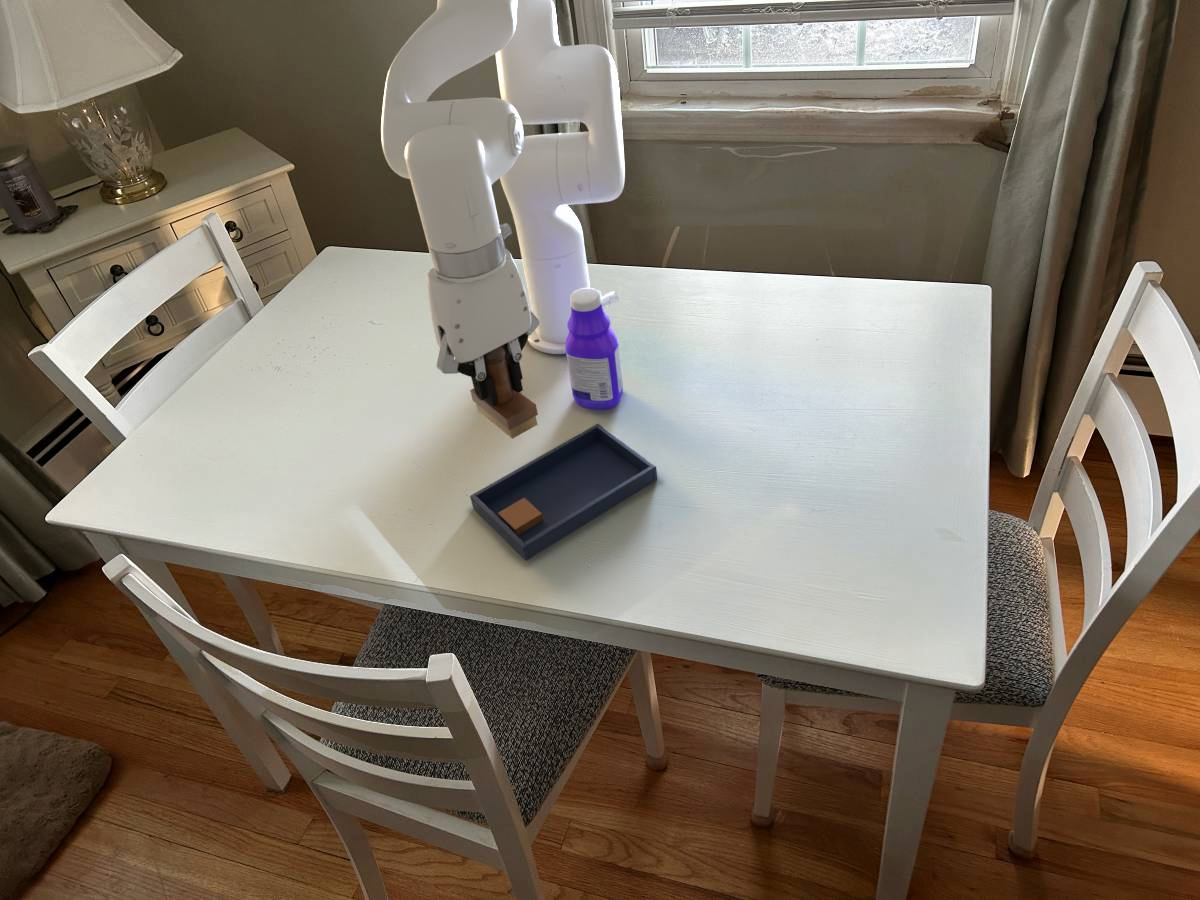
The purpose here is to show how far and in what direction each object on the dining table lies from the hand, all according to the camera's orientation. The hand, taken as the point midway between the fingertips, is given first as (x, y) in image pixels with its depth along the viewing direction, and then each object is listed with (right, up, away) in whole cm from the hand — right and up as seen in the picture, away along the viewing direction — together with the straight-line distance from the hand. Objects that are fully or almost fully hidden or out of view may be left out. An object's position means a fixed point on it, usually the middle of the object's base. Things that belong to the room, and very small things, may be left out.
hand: (500, 392), depth 105 cm
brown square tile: (+2, -15, +7) cm, 17 cm away
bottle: (+11, 0, +25) cm, 27 cm away
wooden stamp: (0, -3, +2) cm, 4 cm away
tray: (+7, -12, +10) cm, 18 cm away
